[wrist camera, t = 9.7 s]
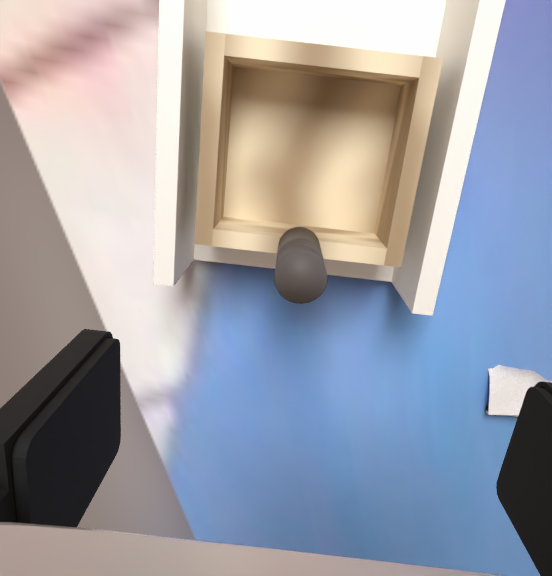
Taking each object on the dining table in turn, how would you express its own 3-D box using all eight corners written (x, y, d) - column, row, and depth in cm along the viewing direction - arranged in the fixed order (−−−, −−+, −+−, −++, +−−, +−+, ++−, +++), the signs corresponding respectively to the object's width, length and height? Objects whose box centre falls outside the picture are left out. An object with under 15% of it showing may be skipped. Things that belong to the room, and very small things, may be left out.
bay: (507, -218, 25) (585, -346, 18) (405, 279, 34) (432, 315, 27) (201, -253, 25) (168, -394, 18) (180, 254, 34) (152, 284, 27)
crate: (417, 70, 28) (491, 34, 18) (382, 257, 32) (426, 317, 21) (220, 48, 28) (178, -2, 18) (208, 237, 32) (167, 288, 21)
